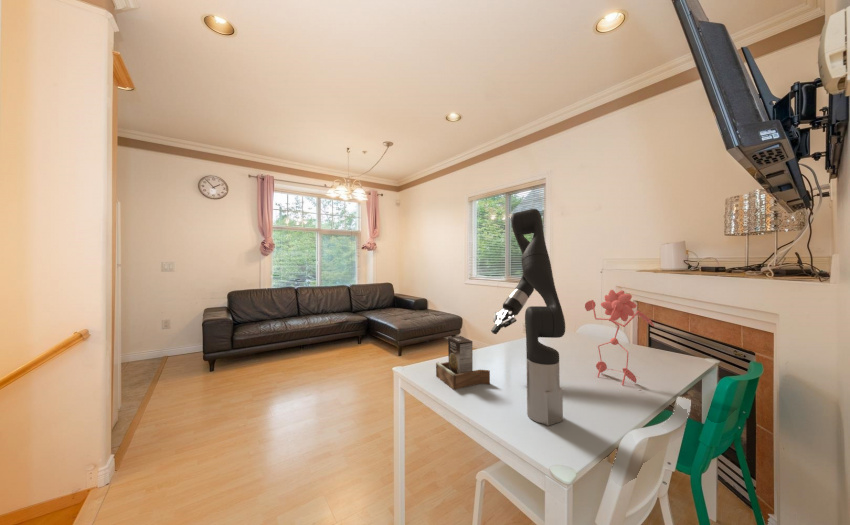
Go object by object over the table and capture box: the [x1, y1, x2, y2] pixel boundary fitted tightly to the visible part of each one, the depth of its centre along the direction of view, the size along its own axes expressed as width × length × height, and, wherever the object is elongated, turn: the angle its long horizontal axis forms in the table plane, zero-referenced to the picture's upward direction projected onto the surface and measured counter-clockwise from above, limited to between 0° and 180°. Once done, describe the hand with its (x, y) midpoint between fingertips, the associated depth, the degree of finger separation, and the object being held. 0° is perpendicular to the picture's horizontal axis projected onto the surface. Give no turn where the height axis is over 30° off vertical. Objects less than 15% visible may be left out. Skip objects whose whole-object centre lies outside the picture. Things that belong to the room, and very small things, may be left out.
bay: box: [435, 361, 491, 390], centre depth 118 cm, size 18×15×6 cm
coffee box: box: [447, 335, 474, 374], centre depth 118 cm, size 9×6×16 cm
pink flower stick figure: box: [584, 289, 655, 392], centre depth 117 cm, size 15×26×35 cm, turn 30°
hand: (493, 332), depth 124 cm, fingers closed
